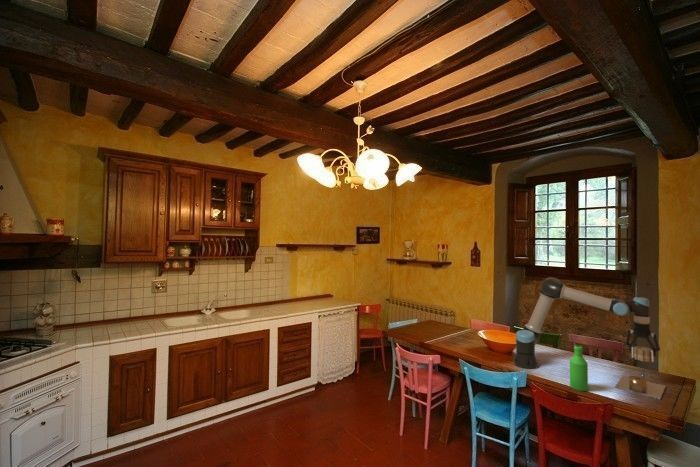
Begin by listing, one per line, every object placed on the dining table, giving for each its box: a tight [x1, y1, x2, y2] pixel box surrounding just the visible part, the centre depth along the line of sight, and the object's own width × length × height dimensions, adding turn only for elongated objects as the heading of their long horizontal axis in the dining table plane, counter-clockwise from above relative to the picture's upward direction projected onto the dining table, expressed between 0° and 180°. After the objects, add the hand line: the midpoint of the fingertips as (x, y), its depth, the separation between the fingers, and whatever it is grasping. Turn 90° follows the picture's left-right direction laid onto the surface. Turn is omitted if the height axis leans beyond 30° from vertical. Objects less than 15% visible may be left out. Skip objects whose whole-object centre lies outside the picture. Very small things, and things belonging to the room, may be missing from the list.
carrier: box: [614, 372, 666, 400], centre depth 199 cm, size 25×20×8 cm
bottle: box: [569, 345, 589, 392], centre depth 198 cm, size 9×9×25 cm
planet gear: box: [632, 345, 653, 363], centre depth 206 cm, size 9×9×7 cm
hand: (642, 359), depth 206 cm, fingers closed on planet gear, 9 cm apart
